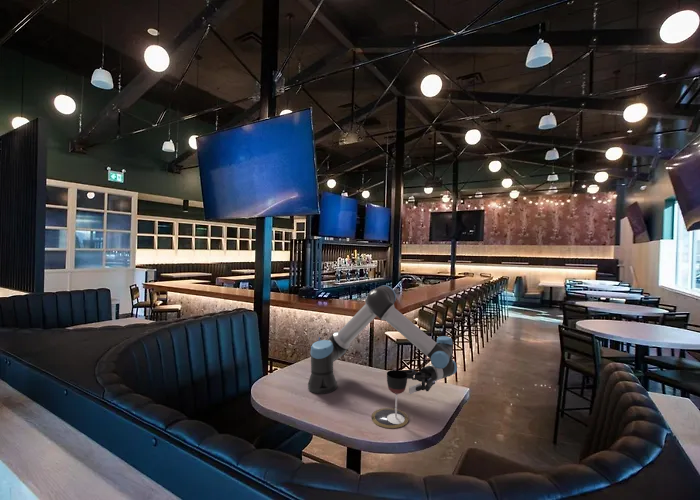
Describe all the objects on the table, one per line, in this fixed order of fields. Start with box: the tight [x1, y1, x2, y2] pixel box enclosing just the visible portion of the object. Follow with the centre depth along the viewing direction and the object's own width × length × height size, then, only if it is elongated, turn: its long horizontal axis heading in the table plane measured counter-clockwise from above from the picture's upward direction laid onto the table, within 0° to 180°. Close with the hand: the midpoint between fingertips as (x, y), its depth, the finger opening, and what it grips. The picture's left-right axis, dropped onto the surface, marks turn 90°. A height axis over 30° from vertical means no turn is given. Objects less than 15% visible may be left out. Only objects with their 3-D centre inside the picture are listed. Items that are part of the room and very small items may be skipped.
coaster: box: [371, 407, 410, 429], centre depth 150 cm, size 16×16×1 cm
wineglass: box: [386, 369, 408, 424], centre depth 147 cm, size 8×9×20 cm
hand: (398, 385), depth 152 cm, fingers open, 13 cm apart
